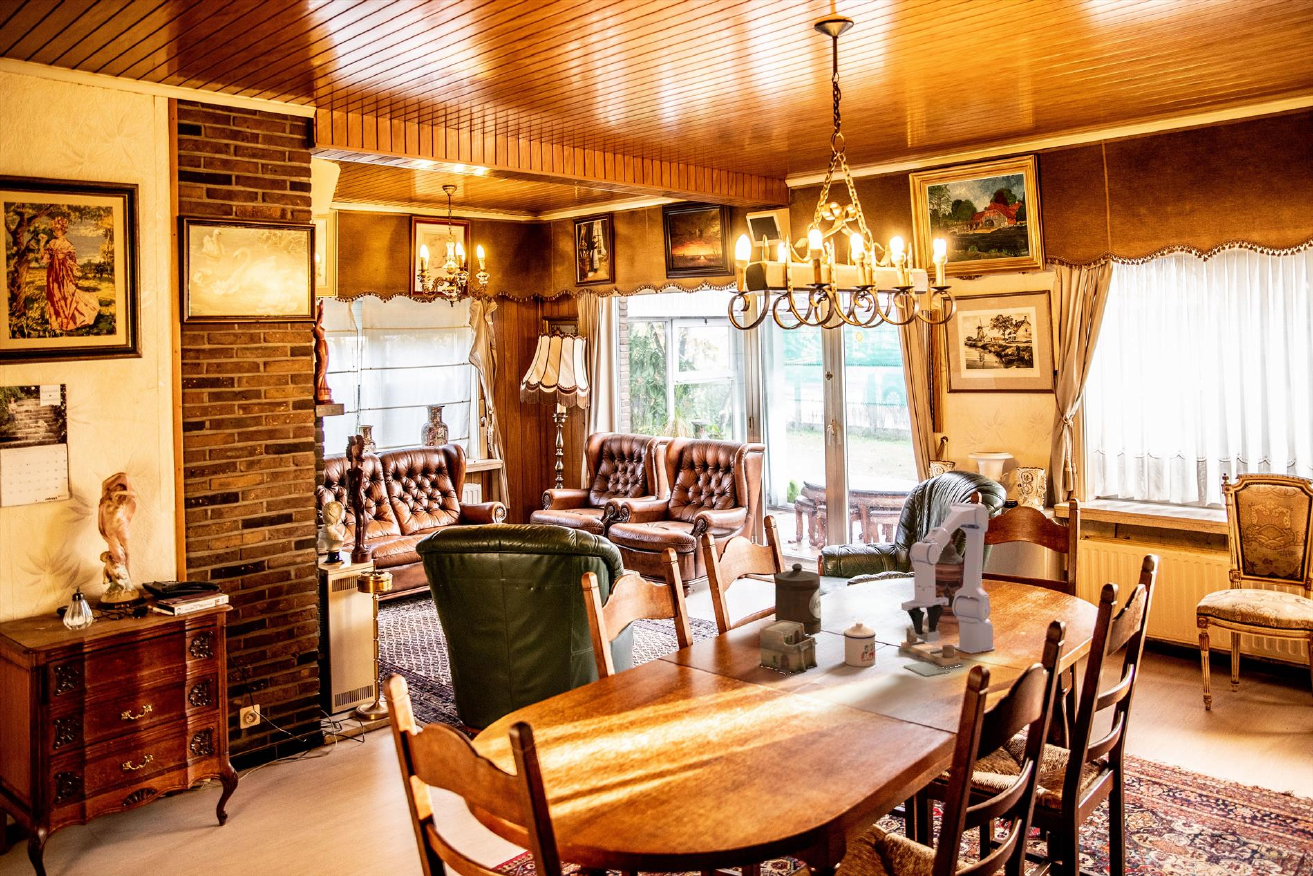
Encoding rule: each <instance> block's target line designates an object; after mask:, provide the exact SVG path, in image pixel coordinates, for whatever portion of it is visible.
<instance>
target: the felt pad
mask: <svg viewBox="0 0 1313 876" xmlns="http://www.w3.org/2000/svg"><path fill="white" fill-rule="evenodd" d="M905 667H906V668H905ZM903 668H905V669H907V670H909V669H910V670H909V671H911V670H912V671H911V672H914V673H916V672H917V673H916V674H919V675H920V674H921V675H920V676H923V677H925V676H927V677H932V676H931V675H933V676H936V675H935V674H939V675H943V674H942V673H944V674H947V673H946V672H949V673H950V670H949V669H944V668H941V667H939V666H937V665H934V664H932V663H930V662H927V661H924V662H918V663H912V664H906V665H903Z"/></svg>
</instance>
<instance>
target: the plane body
mask: <svg viewBox="0 0 1313 876" xmlns="http://www.w3.org/2000/svg"><path fill="white" fill-rule="evenodd" d="M905 630H906V641H901V642H900V646H898V650H899V649H900V650H899V651H901V652H903V651H904V652H903V653H906V654H909V655H911V656H913V657H915V656H916V658H918V659H920V658H921V660H922V659H923V661H925V660H926V661H925V662H927V661H928V662H929V663H931V664H932V663H933V664H935V665H936V666H937V665H938V667H939V666H940V667H944V668H945V670H947V669H946V668H949V669H951V668H950V667H955V666H958V665H963V666H964V664H963V662H961V657H960V656H959V655H956V654H955V648H954V645H953V644H943V645H942V647H941V648H939V647H937V646H934V645H931V644H929V643H927V642H926V641H923V640H920V639H918V638H916V637H914V636H911V635H910V627H907V628H906V629H905ZM944 668H943V669H944ZM955 668H956V667H955Z"/></svg>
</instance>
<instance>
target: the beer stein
mask: <svg viewBox="0 0 1313 876" xmlns="http://www.w3.org/2000/svg"><path fill="white" fill-rule="evenodd" d="M953 541H954V539H953V538H951V537H950V541H949V542H948V543H947V545H946V546H945V547H944V548H943V549H942V550H941V554H940V556H939V560H938V562H937V563H935V586H936V598H940V597H945V598H948V599H949V605H941V607H943V608H944V611H943V613H942V615H941V616H940V618H939V621H938V623H943V624H959V620H958V619H957V616H955V615H954V613H953V610H952V604H953V601H954V598H955V592H956V591H957V590H959V589H960V588H962V587H963V578H964V563H965V555H964V556H963V557H961V556H960V555H959V554H958V553H957V548H956V546H955V545H954V544H953ZM965 597H969V596H965ZM969 598H975V597H969ZM975 599H977V598H975ZM926 618H927V619H928V615H927V617H926Z"/></svg>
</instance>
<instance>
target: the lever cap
mask: <svg viewBox="0 0 1313 876" xmlns="http://www.w3.org/2000/svg"><path fill="white" fill-rule="evenodd" d="M909 628H910V635H911V636H914V637H916V638H917V639H918V640H920V641H925V643H930V642H936V641H940V631H939V630H937V629H936V630H935V629H932V628H930V627H928V626H927V625H924V624H922V635H919V634H916V633H915V628H914V625H910V626H909Z"/></svg>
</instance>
